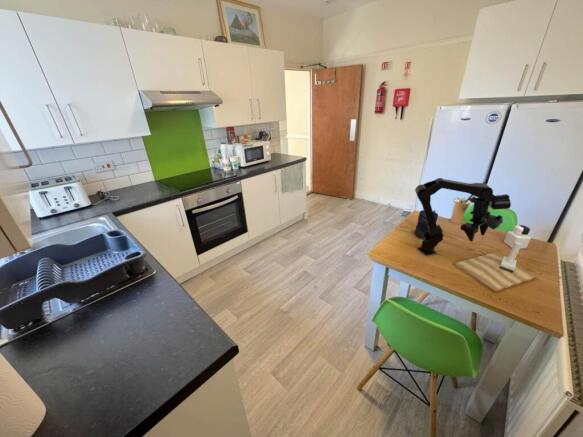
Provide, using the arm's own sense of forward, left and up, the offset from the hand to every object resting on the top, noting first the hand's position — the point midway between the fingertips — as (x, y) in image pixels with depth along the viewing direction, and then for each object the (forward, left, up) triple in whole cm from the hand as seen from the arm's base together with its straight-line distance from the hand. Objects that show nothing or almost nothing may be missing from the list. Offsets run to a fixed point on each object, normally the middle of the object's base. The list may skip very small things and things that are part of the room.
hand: (476, 238), depth 120 cm
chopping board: (+1, -12, -12) cm, 17 cm away
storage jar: (-5, +26, -12) cm, 29 cm away
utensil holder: (+29, +32, -12) cm, 45 cm away
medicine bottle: (+34, 0, -12) cm, 36 cm away
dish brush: (+8, -13, -11) cm, 19 cm away
